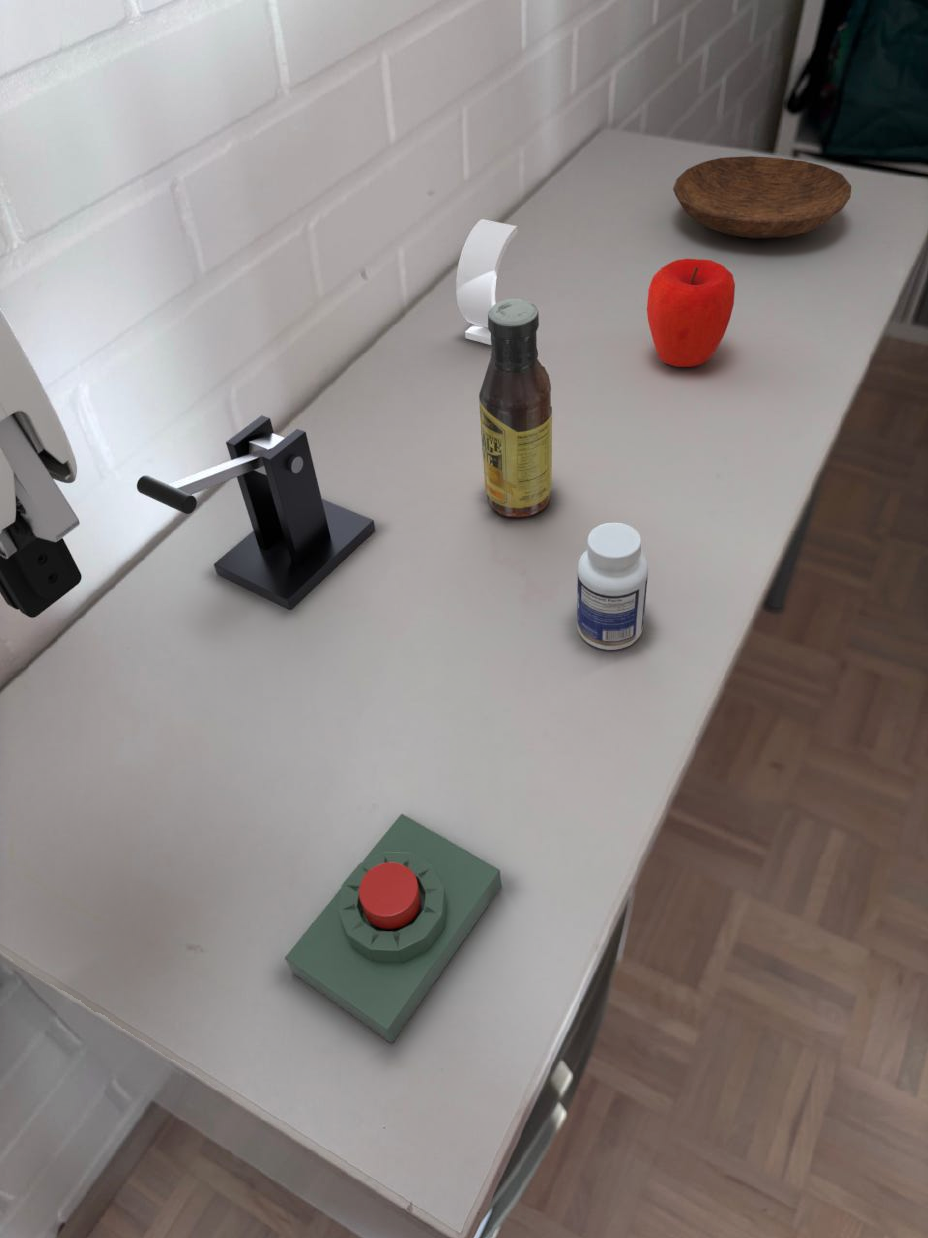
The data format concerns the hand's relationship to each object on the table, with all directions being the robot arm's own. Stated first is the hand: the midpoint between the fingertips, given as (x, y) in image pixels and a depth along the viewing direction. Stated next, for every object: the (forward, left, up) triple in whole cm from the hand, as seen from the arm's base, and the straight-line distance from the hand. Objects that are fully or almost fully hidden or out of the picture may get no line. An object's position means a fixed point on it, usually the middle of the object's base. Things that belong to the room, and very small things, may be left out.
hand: (47, 593), depth 45 cm
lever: (+23, +16, -16) cm, 32 cm away
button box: (+4, -14, -27) cm, 31 cm away
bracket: (+28, +16, -27) cm, 42 cm away
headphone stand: (+68, +21, -27) cm, 76 cm away
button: (+4, -14, -23) cm, 28 cm away
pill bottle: (+34, -13, -27) cm, 46 cm away
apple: (+73, -1, -27) cm, 78 cm away
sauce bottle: (+44, +2, -27) cm, 52 cm away
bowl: (+107, +5, -27) cm, 111 cm away
